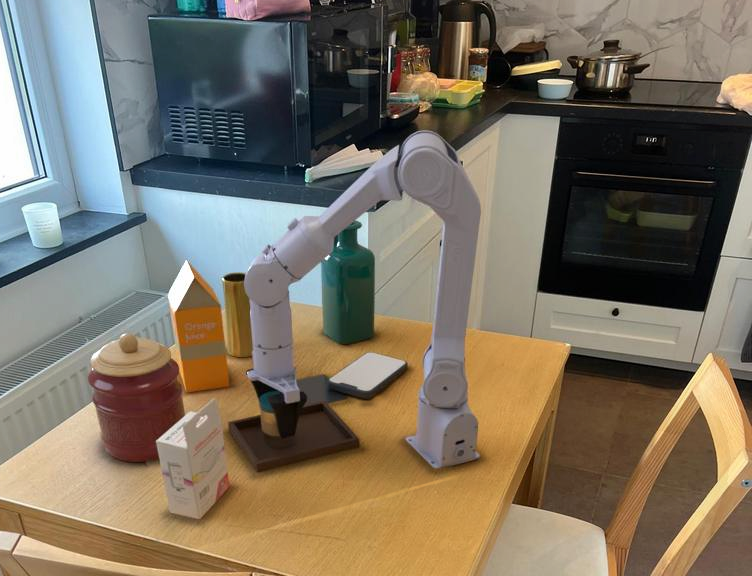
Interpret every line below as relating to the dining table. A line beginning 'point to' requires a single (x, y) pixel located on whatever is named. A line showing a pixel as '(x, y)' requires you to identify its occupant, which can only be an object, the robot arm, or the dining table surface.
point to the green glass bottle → (348, 289)
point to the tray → (314, 438)
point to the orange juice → (198, 332)
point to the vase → (237, 315)
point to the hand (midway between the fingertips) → (278, 424)
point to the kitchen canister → (135, 396)
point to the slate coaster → (318, 390)
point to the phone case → (367, 375)
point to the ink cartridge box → (194, 462)
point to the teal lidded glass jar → (272, 425)
